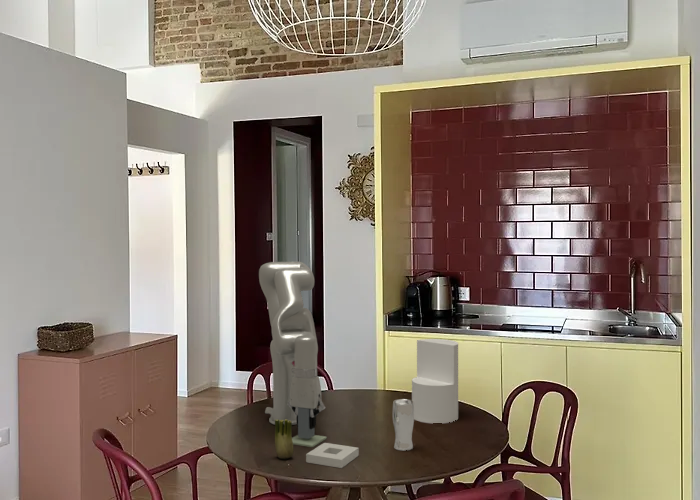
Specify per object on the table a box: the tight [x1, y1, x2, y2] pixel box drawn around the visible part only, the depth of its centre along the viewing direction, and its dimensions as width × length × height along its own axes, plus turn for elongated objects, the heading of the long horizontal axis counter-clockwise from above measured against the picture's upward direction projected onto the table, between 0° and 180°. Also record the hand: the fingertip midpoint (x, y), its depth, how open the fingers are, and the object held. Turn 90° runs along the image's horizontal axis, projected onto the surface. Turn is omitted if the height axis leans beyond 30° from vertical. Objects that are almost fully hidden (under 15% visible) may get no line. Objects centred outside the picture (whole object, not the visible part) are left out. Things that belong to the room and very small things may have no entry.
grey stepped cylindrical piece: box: [411, 338, 459, 424], centre depth 252 cm, size 17×17×28 cm
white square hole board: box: [305, 442, 360, 469], centre depth 207 cm, size 12×12×2 cm
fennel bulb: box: [274, 419, 294, 460], centre depth 208 cm, size 6×5×12 cm
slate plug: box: [297, 408, 315, 439], centre depth 224 cm, size 4×4×10 cm
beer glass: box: [392, 398, 415, 452], centre depth 217 cm, size 7×7×15 cm
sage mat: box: [292, 434, 328, 448], centre depth 224 cm, size 10×10×1 cm
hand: (306, 426), depth 224 cm, fingers closed on slate plug, 3 cm apart
